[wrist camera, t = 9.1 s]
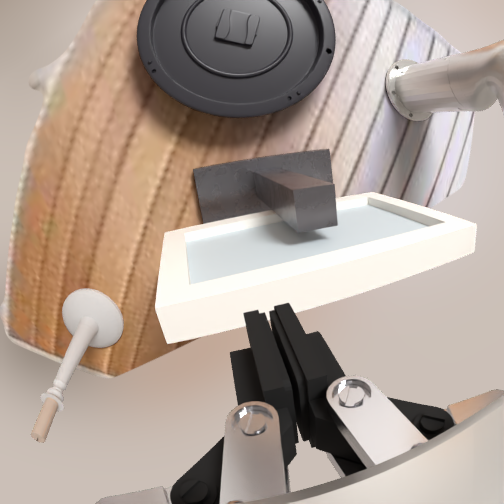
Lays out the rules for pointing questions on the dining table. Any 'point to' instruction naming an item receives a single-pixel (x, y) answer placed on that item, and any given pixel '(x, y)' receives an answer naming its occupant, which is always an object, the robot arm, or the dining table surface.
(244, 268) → the picture frame
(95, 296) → the candlestick
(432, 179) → the dining table surface
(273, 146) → the dining table surface
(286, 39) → the round tray
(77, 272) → the dining table surface
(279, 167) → the frame stand
